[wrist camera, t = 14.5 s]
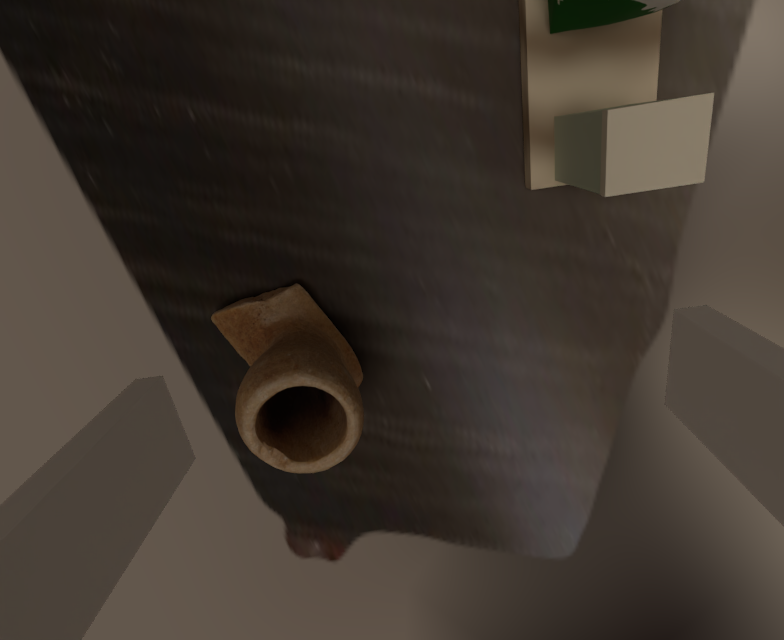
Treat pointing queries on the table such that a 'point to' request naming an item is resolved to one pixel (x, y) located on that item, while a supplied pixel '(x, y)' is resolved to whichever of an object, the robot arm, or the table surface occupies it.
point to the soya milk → (598, 12)
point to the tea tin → (634, 146)
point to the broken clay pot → (294, 381)
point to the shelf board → (579, 76)
